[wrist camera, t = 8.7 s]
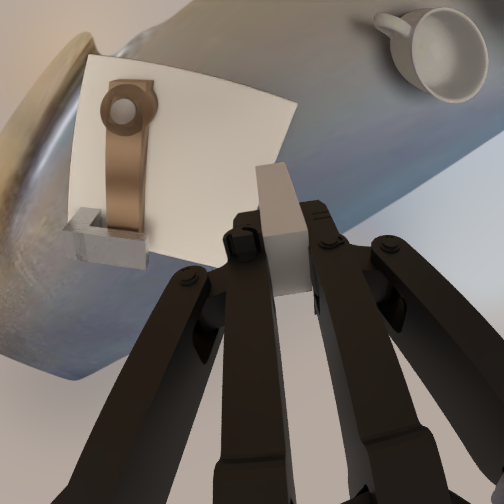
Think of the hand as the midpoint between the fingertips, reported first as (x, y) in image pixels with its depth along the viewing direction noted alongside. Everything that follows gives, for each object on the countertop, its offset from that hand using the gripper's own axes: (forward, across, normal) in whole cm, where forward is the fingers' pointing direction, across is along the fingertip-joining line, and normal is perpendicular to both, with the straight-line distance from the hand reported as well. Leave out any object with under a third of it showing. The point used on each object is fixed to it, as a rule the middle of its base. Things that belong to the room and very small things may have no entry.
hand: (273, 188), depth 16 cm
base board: (+21, +12, +4) cm, 24 cm away
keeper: (+20, +20, +10) cm, 30 cm away
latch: (+19, +15, +3) cm, 24 cm away
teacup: (+22, -19, -7) cm, 30 cm away
